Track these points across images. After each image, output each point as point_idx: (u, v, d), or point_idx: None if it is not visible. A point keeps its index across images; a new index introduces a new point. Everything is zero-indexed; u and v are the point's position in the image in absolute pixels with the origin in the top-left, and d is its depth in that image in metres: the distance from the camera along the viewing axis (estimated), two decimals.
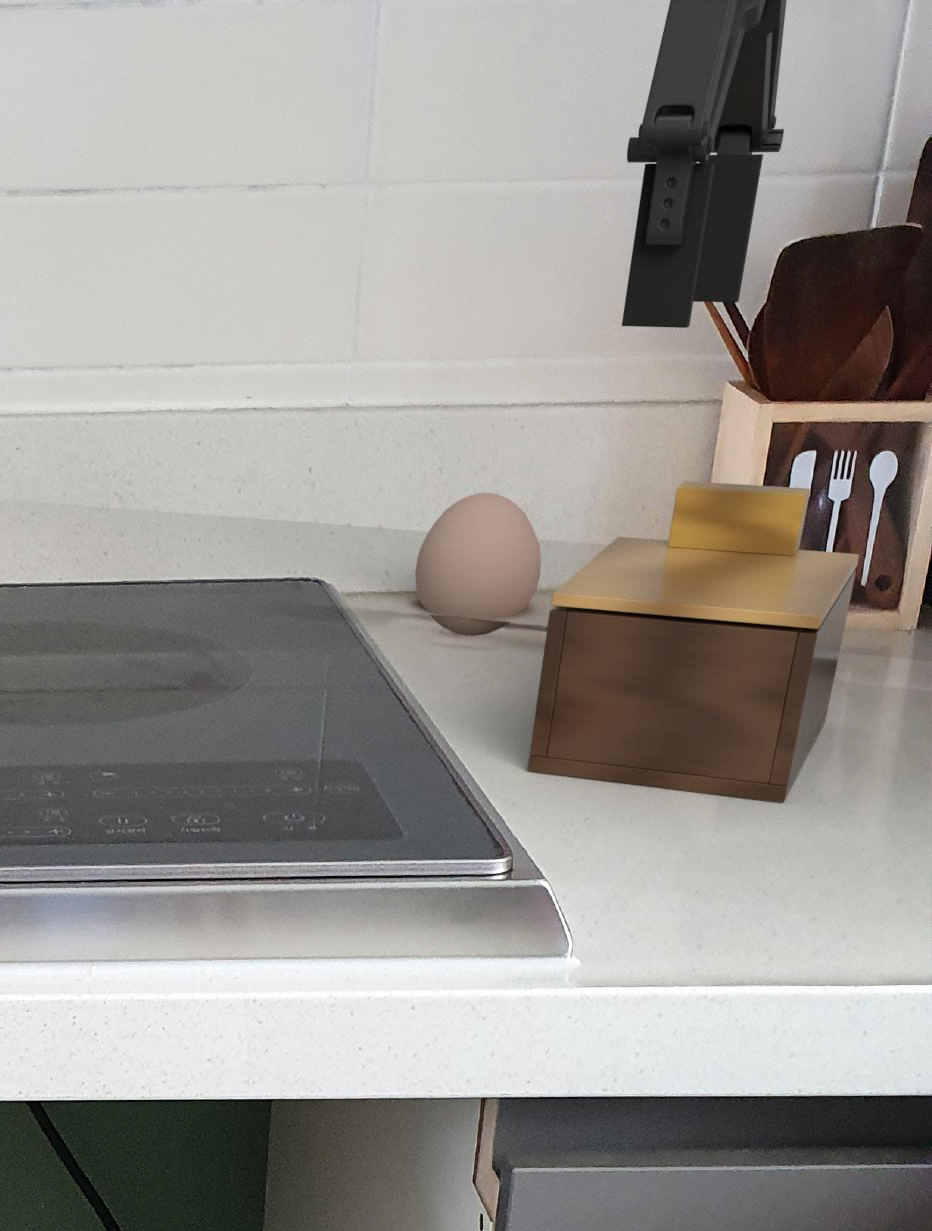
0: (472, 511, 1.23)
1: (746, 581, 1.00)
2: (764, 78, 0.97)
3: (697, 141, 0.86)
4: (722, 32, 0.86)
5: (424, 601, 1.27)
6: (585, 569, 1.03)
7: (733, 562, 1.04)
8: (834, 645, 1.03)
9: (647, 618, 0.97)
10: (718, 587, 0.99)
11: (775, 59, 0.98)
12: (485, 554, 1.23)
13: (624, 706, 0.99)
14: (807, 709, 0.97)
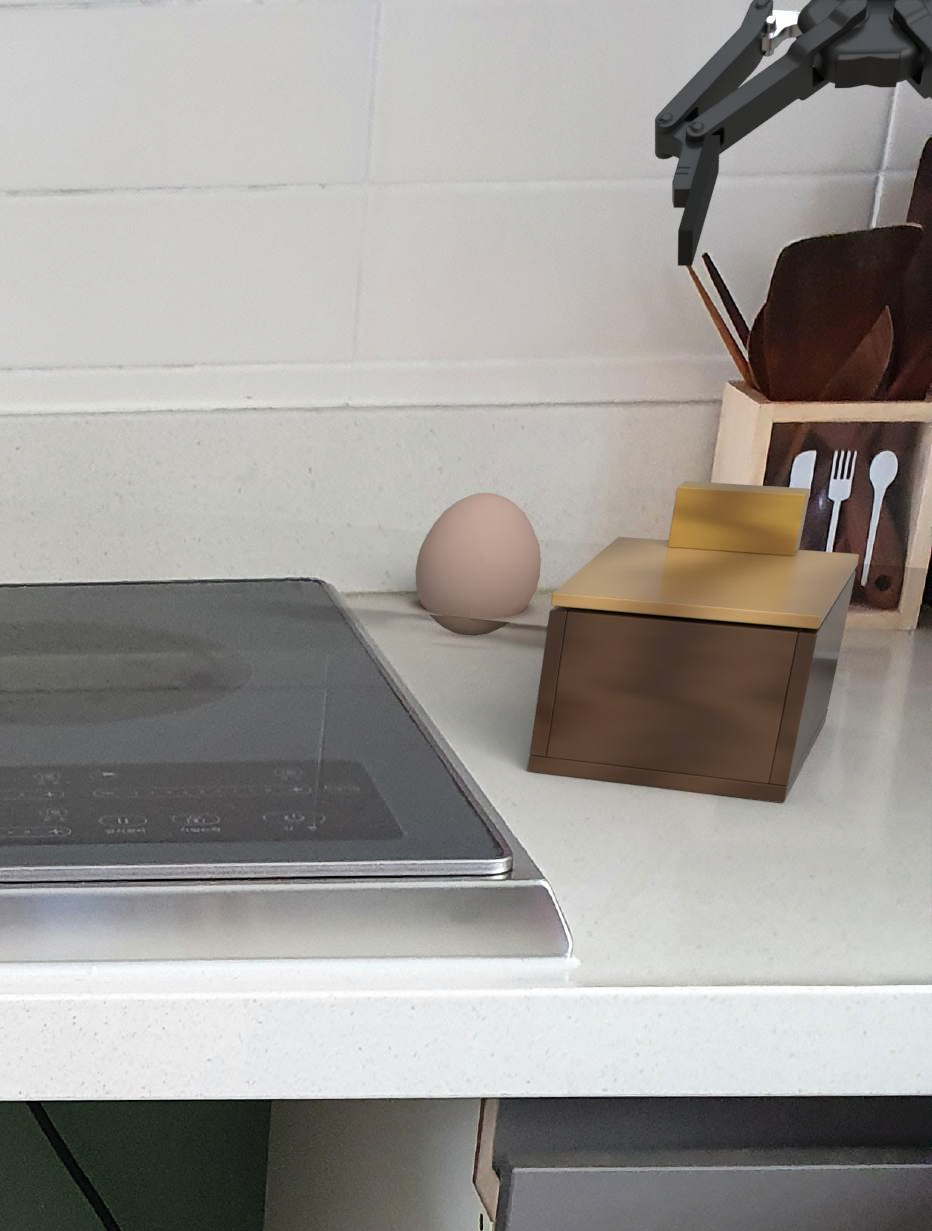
0: (472, 511, 1.23)
1: (746, 581, 1.00)
2: None
3: (658, 126, 1.18)
4: (702, 68, 1.18)
5: (424, 601, 1.27)
6: (585, 569, 1.03)
7: (733, 562, 1.04)
8: (834, 645, 1.03)
9: (647, 618, 0.97)
10: (718, 587, 0.99)
11: None
12: (485, 554, 1.23)
13: (624, 706, 0.99)
14: (807, 709, 0.97)
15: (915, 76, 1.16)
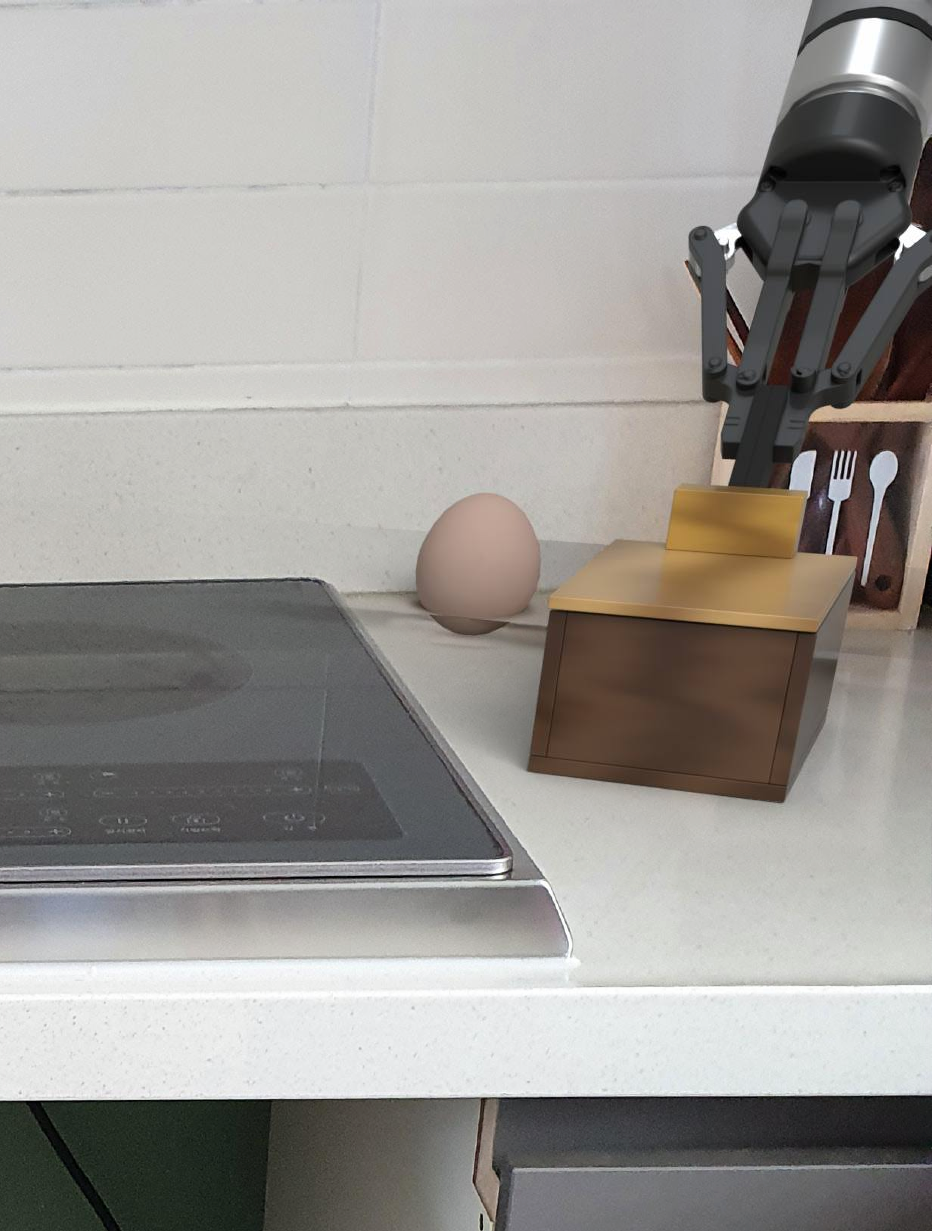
0: (472, 511, 1.23)
1: (744, 584, 0.99)
2: (808, 316, 1.08)
3: (712, 373, 1.10)
4: (701, 309, 1.11)
5: (424, 601, 1.27)
6: (582, 572, 1.02)
7: (731, 565, 1.03)
8: (834, 645, 1.03)
9: (647, 618, 0.97)
10: (716, 590, 0.98)
11: (863, 315, 1.07)
12: (485, 554, 1.23)
13: (624, 706, 0.99)
14: (807, 709, 0.97)
15: None
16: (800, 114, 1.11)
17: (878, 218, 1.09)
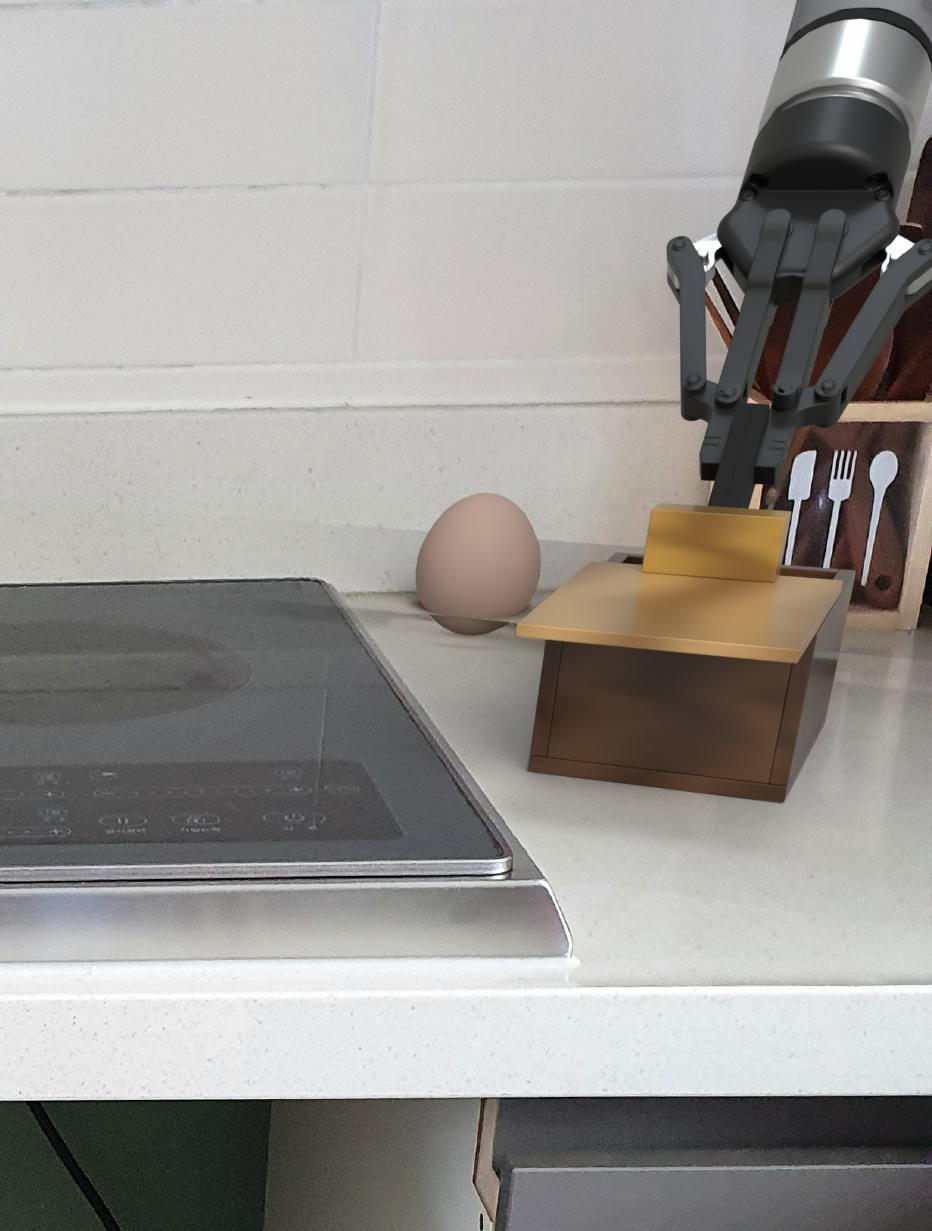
0: (472, 511, 1.23)
1: (722, 610, 0.94)
2: (791, 331, 1.04)
3: (690, 391, 1.05)
4: (680, 323, 1.06)
5: (424, 601, 1.27)
6: (553, 597, 0.98)
7: (709, 589, 0.98)
8: (834, 645, 1.03)
9: None
10: (692, 617, 0.93)
11: (848, 330, 1.03)
12: (485, 554, 1.23)
13: (624, 706, 0.99)
14: (807, 709, 0.97)
15: None
16: (783, 119, 1.06)
17: (864, 228, 1.04)
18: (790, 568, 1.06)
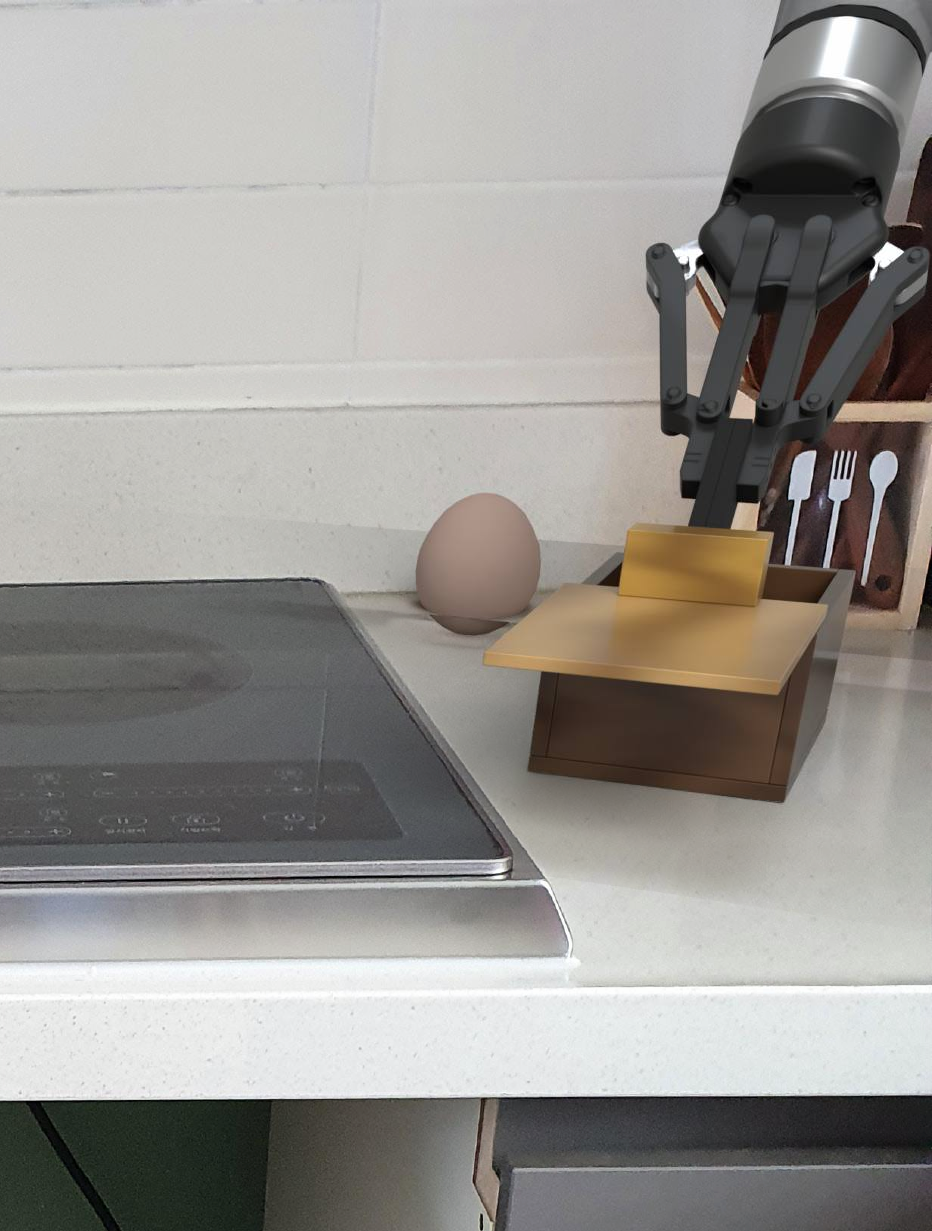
0: (472, 511, 1.23)
1: (701, 637, 0.90)
2: (775, 342, 0.99)
3: (671, 405, 1.00)
4: None
5: (424, 601, 1.27)
6: (524, 622, 0.93)
7: (688, 614, 0.94)
8: (834, 645, 1.03)
9: None
10: (669, 645, 0.89)
11: (835, 341, 0.98)
12: (485, 554, 1.23)
13: (624, 706, 0.99)
14: (807, 709, 0.97)
15: None
16: (767, 121, 1.01)
17: (851, 235, 1.00)
18: (790, 568, 1.06)
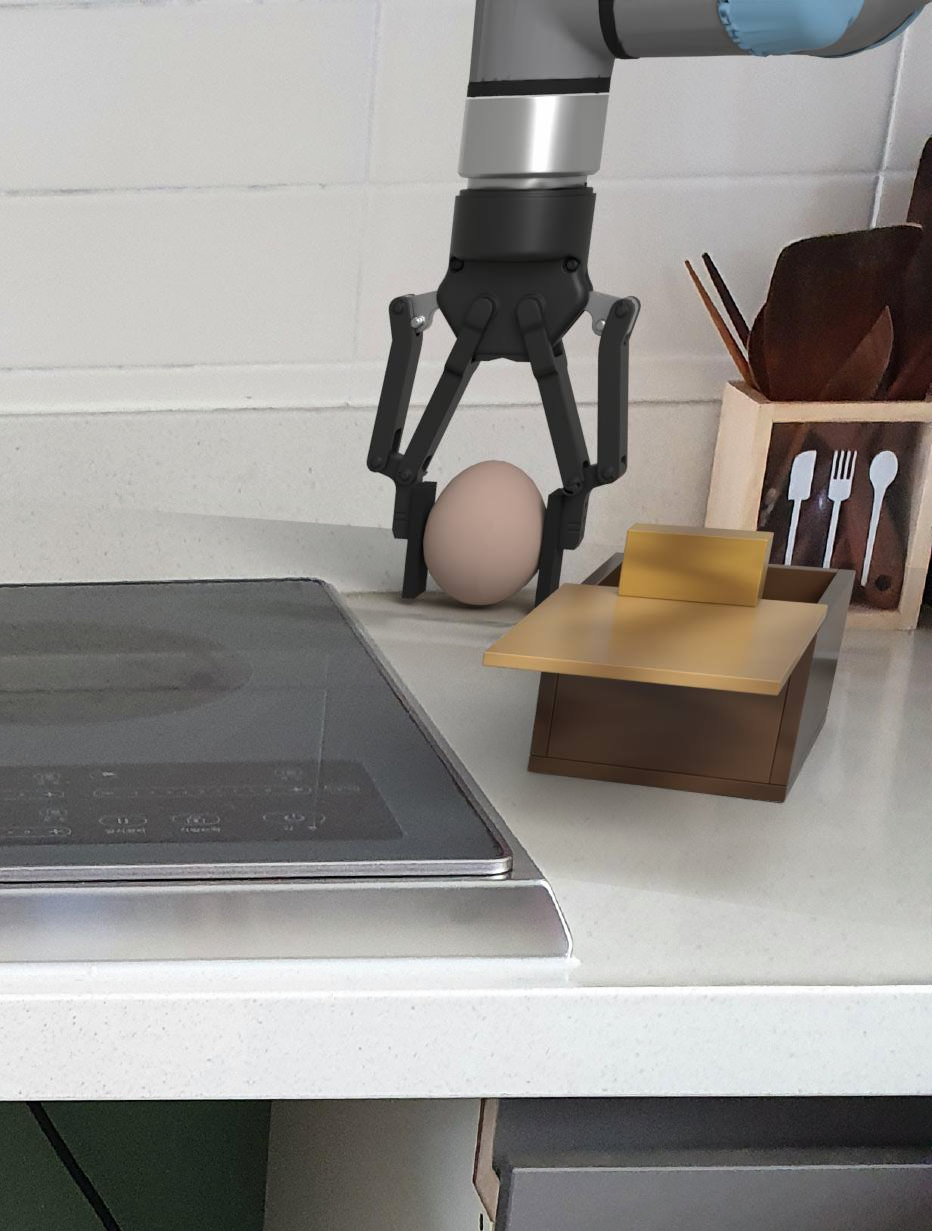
0: (479, 478, 1.22)
1: (700, 638, 0.90)
2: (548, 421, 1.20)
3: (373, 470, 1.26)
4: (380, 396, 1.24)
5: (432, 570, 1.25)
6: (524, 622, 0.93)
7: (688, 614, 0.94)
8: (834, 645, 1.03)
9: None
10: (669, 645, 0.89)
11: (598, 413, 1.19)
12: (494, 521, 1.22)
13: (624, 706, 0.99)
14: (807, 709, 0.97)
15: None
16: (470, 210, 1.16)
17: (561, 307, 1.17)
18: (790, 568, 1.06)
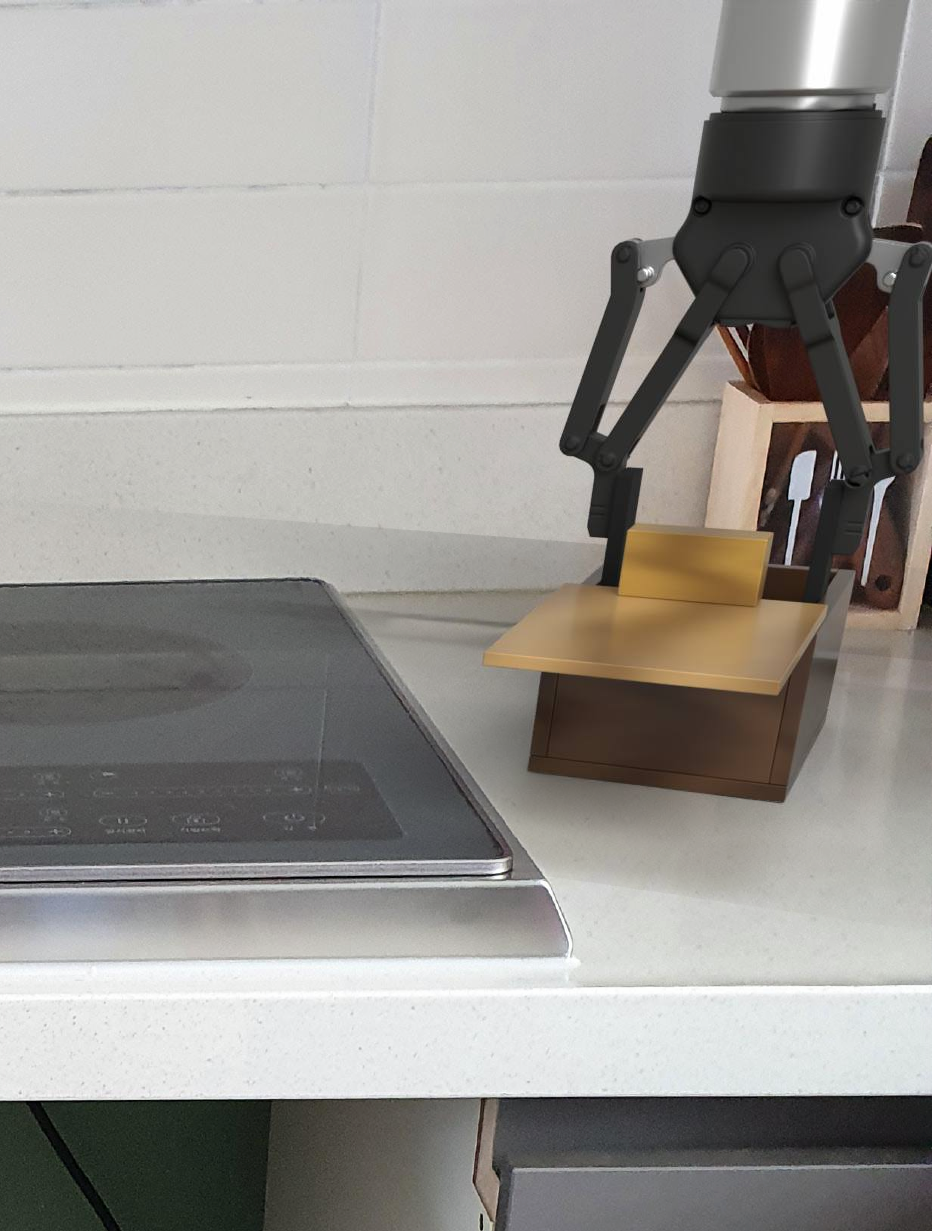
0: None
1: (700, 638, 0.90)
2: (823, 399, 0.97)
3: None
4: (587, 363, 1.01)
5: None
6: (524, 622, 0.93)
7: (688, 614, 0.94)
8: (834, 645, 1.03)
9: None
10: (669, 645, 0.89)
11: (889, 388, 0.95)
12: None
13: (624, 706, 0.99)
14: (807, 709, 0.97)
15: None
16: (728, 137, 0.93)
17: (837, 261, 0.94)
18: (790, 568, 1.06)
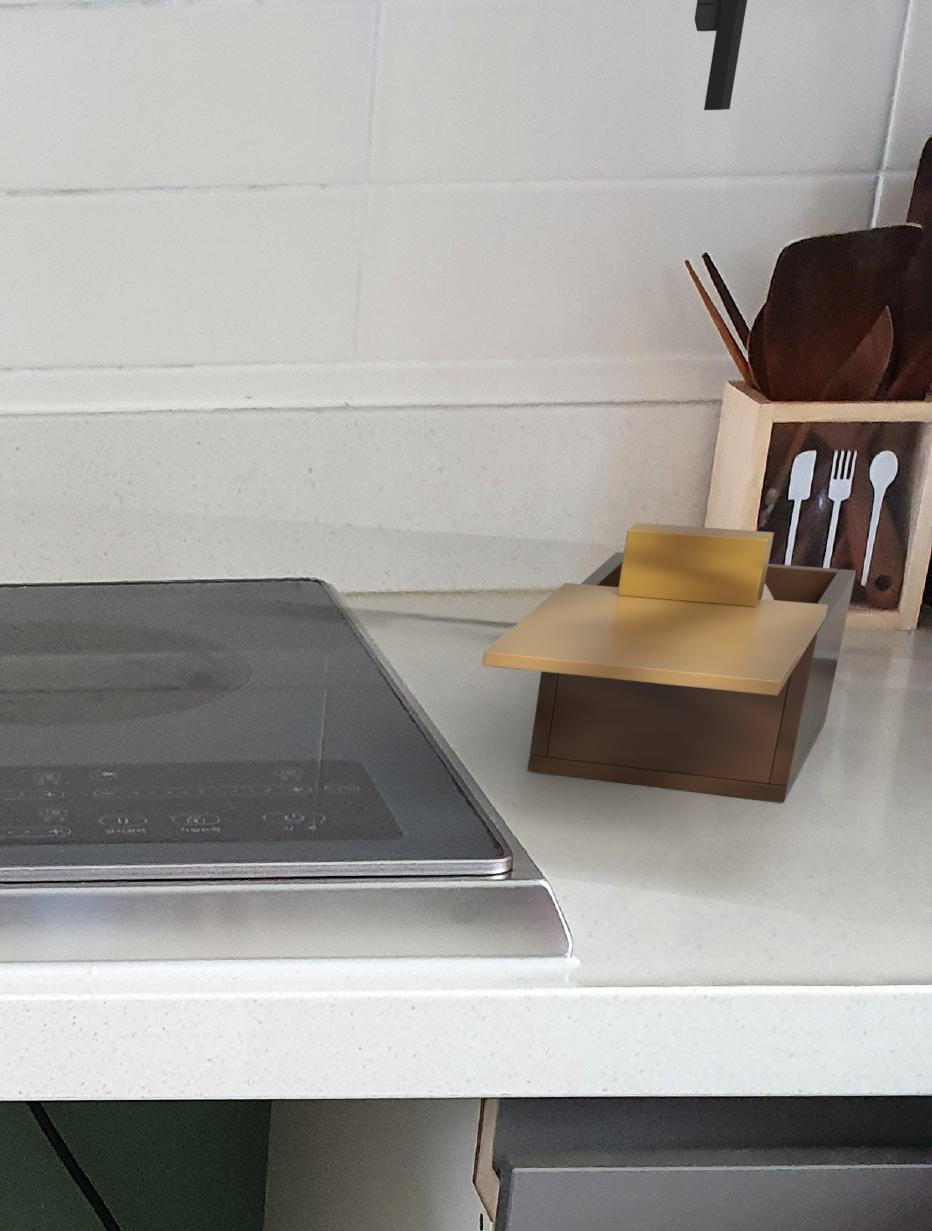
0: None
1: (700, 638, 0.90)
2: None
3: None
4: None
5: None
6: (524, 622, 0.93)
7: (688, 614, 0.94)
8: (834, 645, 1.03)
9: None
10: (669, 645, 0.89)
11: None
12: None
13: (624, 706, 0.99)
14: (807, 709, 0.97)
15: None
16: None
17: None
18: (790, 568, 1.06)
